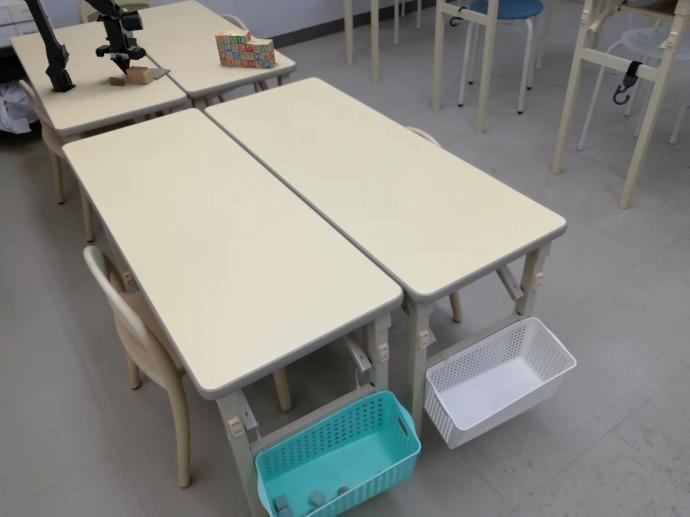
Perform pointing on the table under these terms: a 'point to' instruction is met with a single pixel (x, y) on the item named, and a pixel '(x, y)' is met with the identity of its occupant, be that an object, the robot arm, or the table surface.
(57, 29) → the table surface
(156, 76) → the mat
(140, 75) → the plug block
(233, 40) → the stack of blocks
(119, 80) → the rail left
